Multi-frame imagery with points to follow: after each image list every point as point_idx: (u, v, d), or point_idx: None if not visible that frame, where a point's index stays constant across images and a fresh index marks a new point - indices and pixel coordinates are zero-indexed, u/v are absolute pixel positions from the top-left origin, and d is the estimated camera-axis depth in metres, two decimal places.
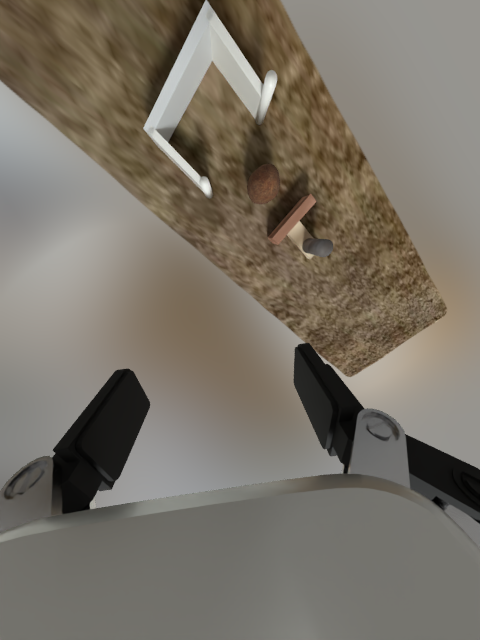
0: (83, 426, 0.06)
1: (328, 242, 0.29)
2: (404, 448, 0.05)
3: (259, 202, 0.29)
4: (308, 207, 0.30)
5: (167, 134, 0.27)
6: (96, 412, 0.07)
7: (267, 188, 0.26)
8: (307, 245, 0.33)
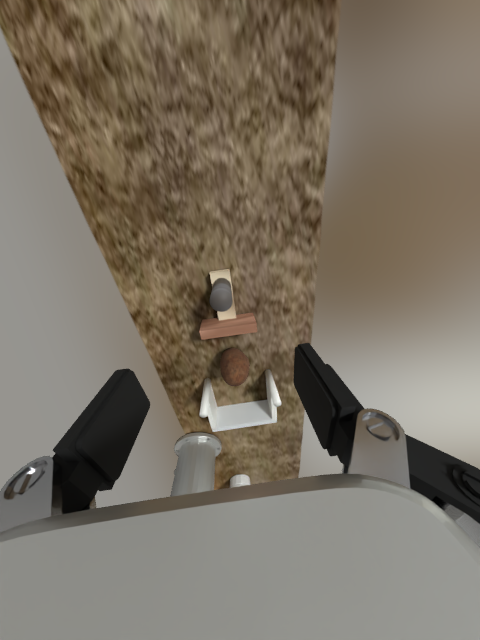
0: (83, 426, 0.06)
1: (213, 304, 0.21)
2: (404, 448, 0.05)
3: (246, 360, 0.30)
4: (209, 331, 0.27)
5: (263, 405, 0.40)
6: (96, 412, 0.07)
7: (240, 376, 0.28)
8: None
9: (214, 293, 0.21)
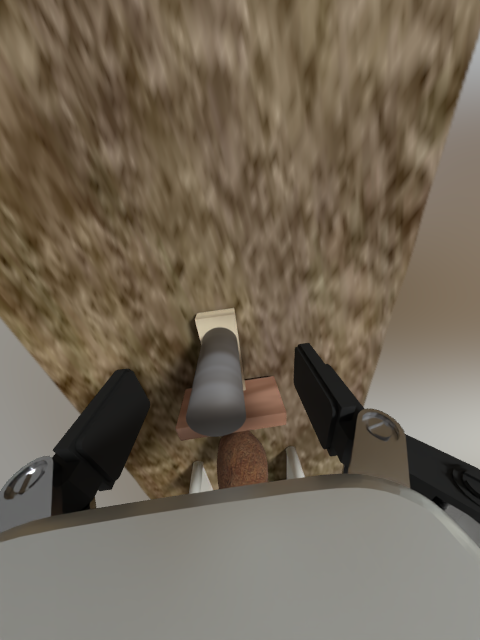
0: (83, 426, 0.06)
1: (197, 426, 0.08)
2: (404, 448, 0.05)
3: (262, 461, 0.17)
4: None
5: None
6: (96, 412, 0.07)
7: None
8: None
9: (198, 404, 0.08)
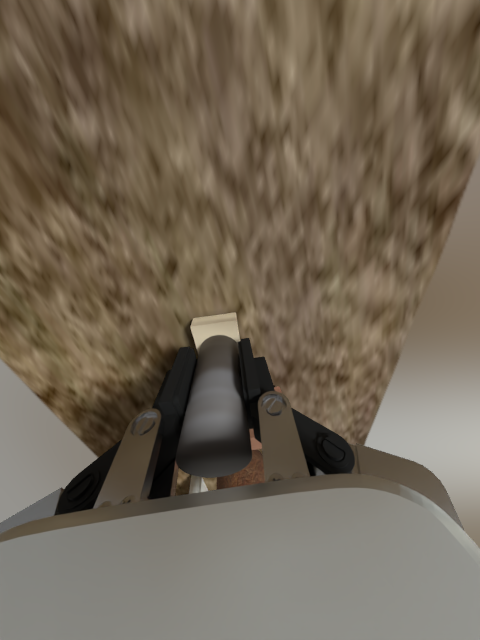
0: (175, 386, 0.08)
1: (191, 467, 0.06)
2: (291, 413, 0.06)
3: None
4: None
5: None
6: (179, 377, 0.08)
7: None
8: None
9: (190, 445, 0.06)
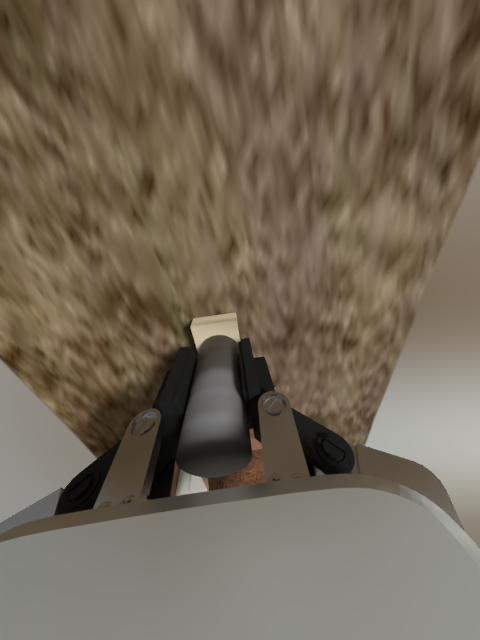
0: (175, 387, 0.08)
1: (191, 467, 0.06)
2: (291, 412, 0.06)
3: None
4: None
5: None
6: (179, 377, 0.08)
7: None
8: None
9: (190, 444, 0.06)
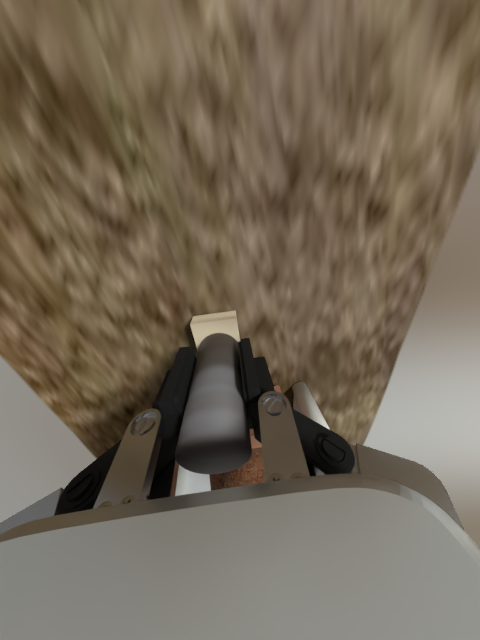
0: (175, 386, 0.08)
1: (190, 464, 0.06)
2: (291, 412, 0.06)
3: None
4: None
5: None
6: (179, 377, 0.08)
7: None
8: None
9: (190, 440, 0.06)
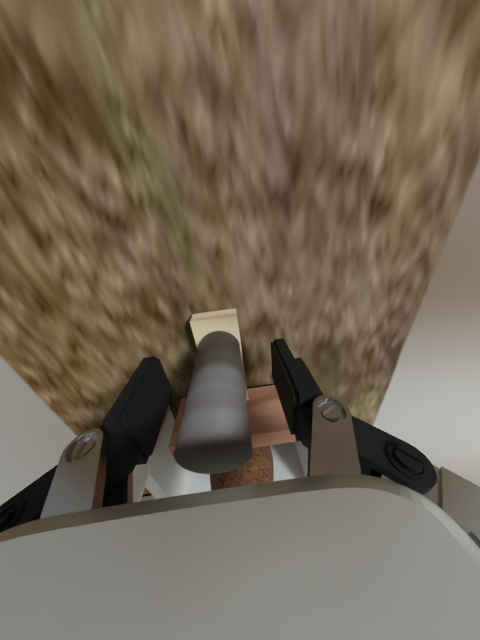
0: (125, 403, 0.07)
1: (189, 463, 0.06)
2: (351, 425, 0.06)
3: (266, 454, 0.13)
4: None
5: (287, 453, 0.19)
6: (133, 393, 0.08)
7: None
8: None
9: (189, 439, 0.06)
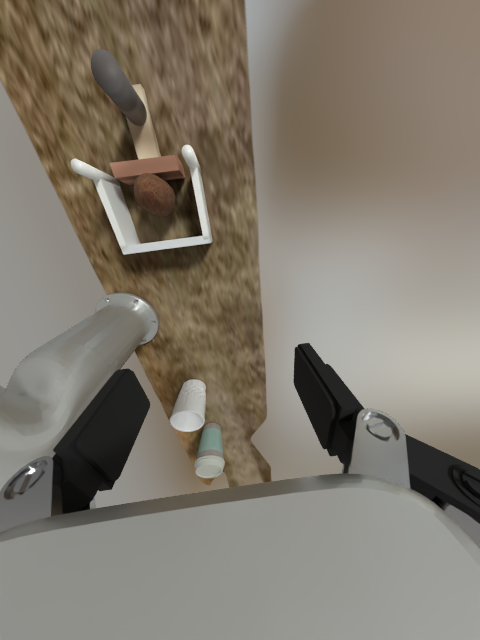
0: (83, 426, 0.06)
1: (98, 77, 0.18)
2: (404, 448, 0.05)
3: (166, 183, 0.25)
4: (121, 165, 0.23)
5: None
6: (96, 412, 0.07)
7: (149, 183, 0.22)
8: (136, 112, 0.22)
9: (95, 55, 0.17)
